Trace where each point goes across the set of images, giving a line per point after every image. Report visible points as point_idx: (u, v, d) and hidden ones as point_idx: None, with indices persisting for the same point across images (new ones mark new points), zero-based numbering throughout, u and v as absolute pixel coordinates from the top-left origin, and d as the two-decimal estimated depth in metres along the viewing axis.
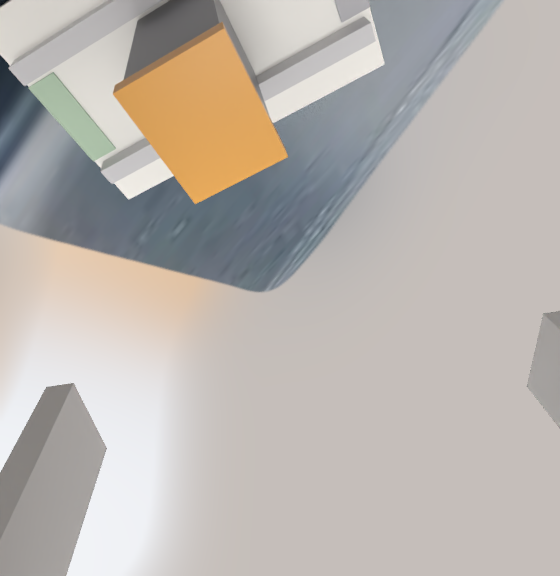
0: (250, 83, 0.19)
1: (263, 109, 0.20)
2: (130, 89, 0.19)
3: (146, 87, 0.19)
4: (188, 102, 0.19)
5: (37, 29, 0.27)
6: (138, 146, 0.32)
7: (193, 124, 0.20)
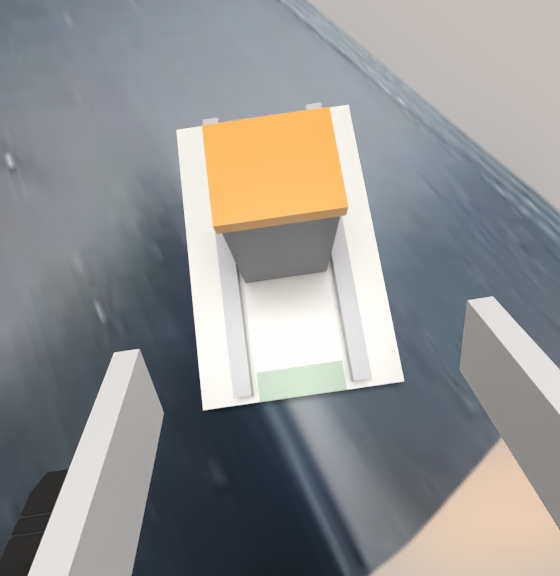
0: (249, 119, 0.22)
1: (275, 115, 0.22)
2: (215, 211, 0.21)
3: (219, 198, 0.21)
4: (244, 171, 0.21)
5: (223, 363, 0.31)
6: (344, 333, 0.30)
7: (265, 174, 0.21)
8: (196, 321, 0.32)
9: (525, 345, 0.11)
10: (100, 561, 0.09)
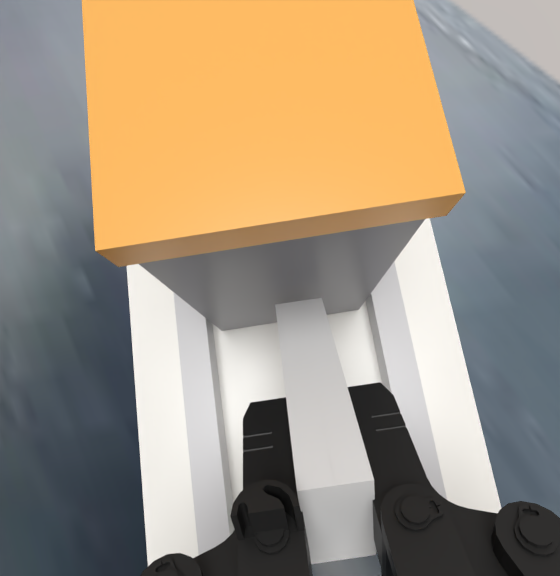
0: None
1: None
2: (105, 209, 0.08)
3: (115, 174, 0.08)
4: (184, 104, 0.08)
5: (185, 482, 0.18)
6: None
7: (238, 111, 0.08)
8: (139, 405, 0.19)
9: (324, 342, 0.12)
10: None
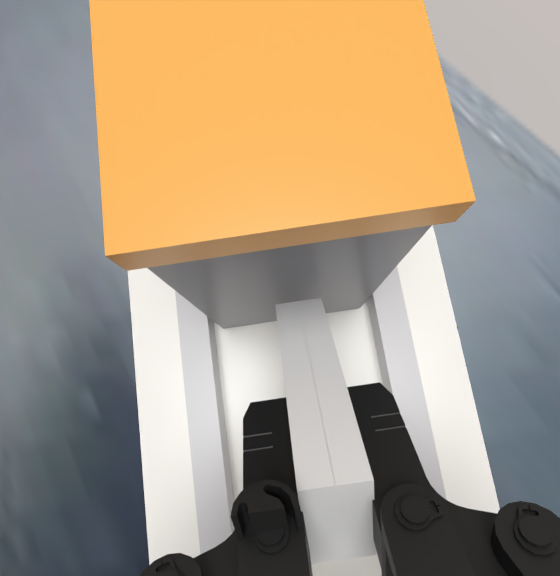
0: None
1: None
2: (114, 213, 0.08)
3: (125, 178, 0.08)
4: (194, 108, 0.08)
5: None
6: None
7: (248, 117, 0.08)
8: (152, 556, 0.17)
9: (324, 342, 0.12)
10: None
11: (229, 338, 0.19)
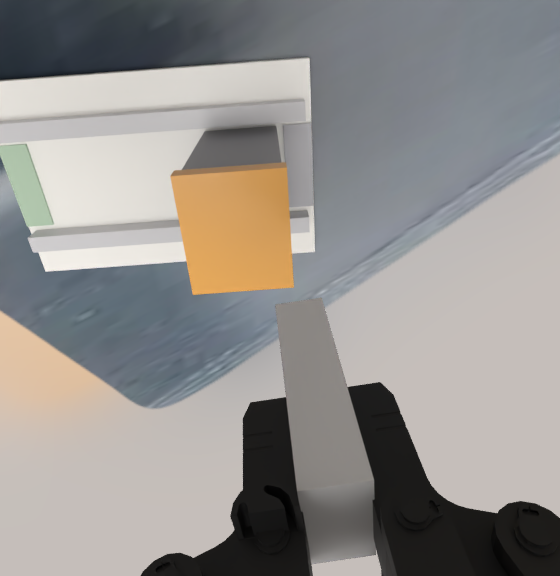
0: (288, 216, 0.21)
1: (290, 240, 0.22)
2: (187, 179, 0.20)
3: (201, 183, 0.21)
4: (230, 209, 0.21)
5: (28, 108, 0.30)
6: (74, 231, 0.33)
7: (226, 228, 0.22)
8: (69, 78, 0.29)
9: (324, 342, 0.12)
10: None
11: (202, 133, 0.31)
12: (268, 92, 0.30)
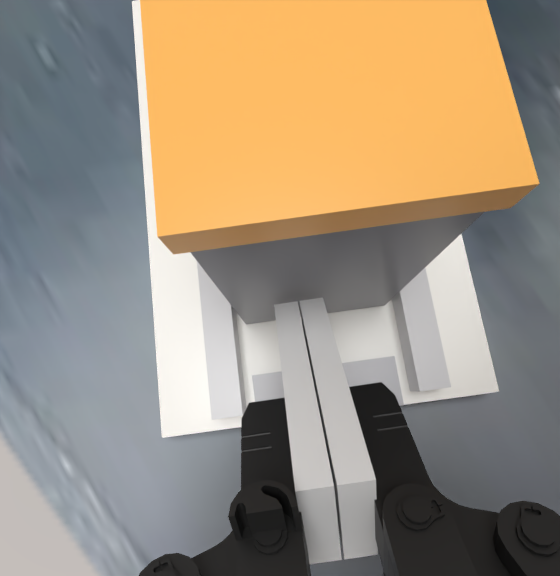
0: (395, 201, 0.07)
1: (318, 212, 0.07)
2: None
3: None
4: (398, 54, 0.08)
5: None
6: None
7: (342, 46, 0.08)
8: None
9: (325, 342, 0.12)
10: None
11: None
12: (439, 329, 0.19)
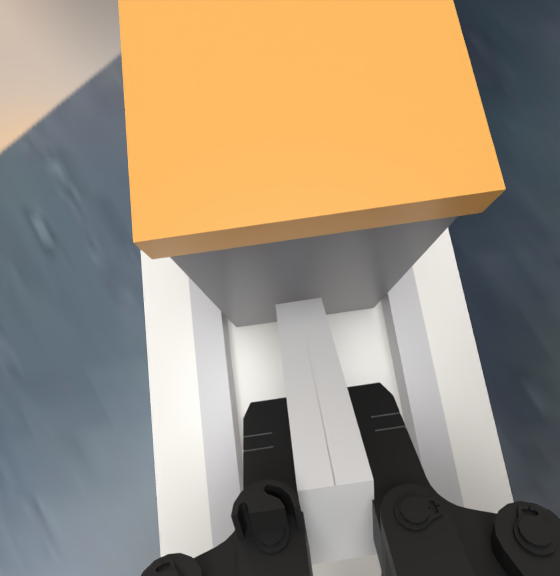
0: (365, 207, 0.08)
1: (290, 218, 0.08)
2: None
3: (429, 0, 0.08)
4: (369, 63, 0.08)
5: None
6: None
7: (315, 55, 0.08)
8: (453, 263, 0.20)
9: (324, 342, 0.12)
10: None
11: None
12: None
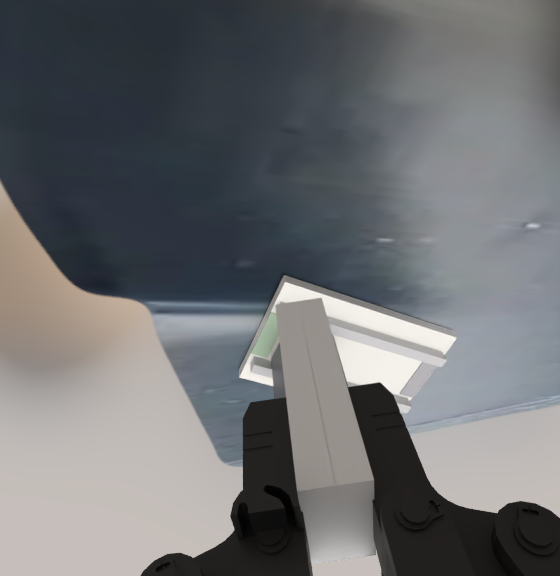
0: None
1: None
2: None
3: None
4: None
5: None
6: None
7: None
8: (337, 300, 0.48)
9: (324, 342, 0.12)
10: None
11: None
12: (428, 343, 0.52)
